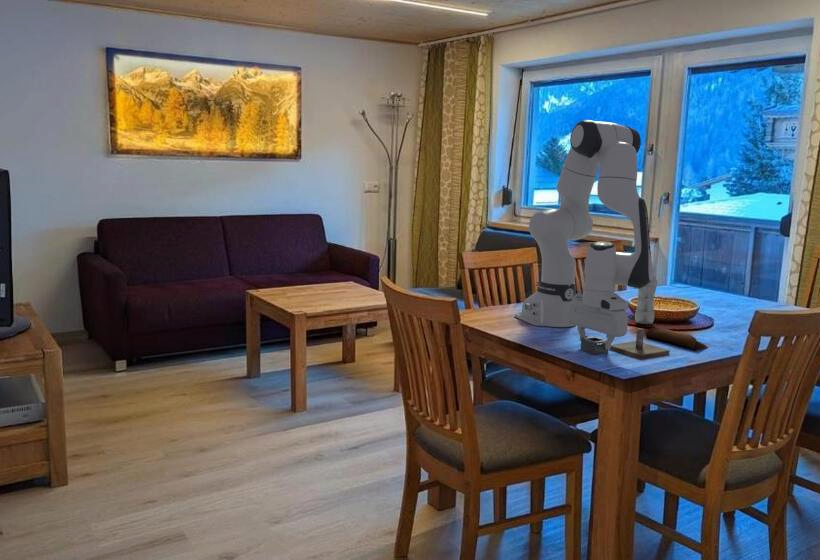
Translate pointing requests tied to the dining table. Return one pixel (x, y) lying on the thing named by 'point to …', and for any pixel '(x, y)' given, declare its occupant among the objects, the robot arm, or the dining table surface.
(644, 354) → the rod on square base
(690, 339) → the brown tapered cylinder
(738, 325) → the dining table surface
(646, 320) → the plastic bottle
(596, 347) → the ring
